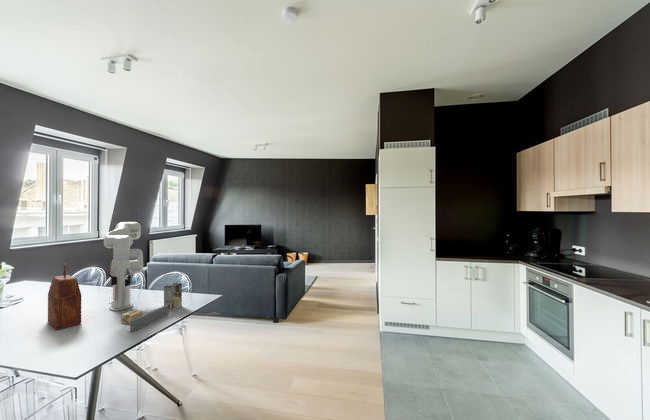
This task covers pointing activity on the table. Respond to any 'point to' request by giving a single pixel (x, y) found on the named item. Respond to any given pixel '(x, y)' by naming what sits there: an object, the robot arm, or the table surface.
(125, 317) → the oak block
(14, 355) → the table surface
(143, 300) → the table surface
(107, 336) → the table surface
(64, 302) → the wooden peaked block
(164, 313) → the gray flat board
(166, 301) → the coffee box
